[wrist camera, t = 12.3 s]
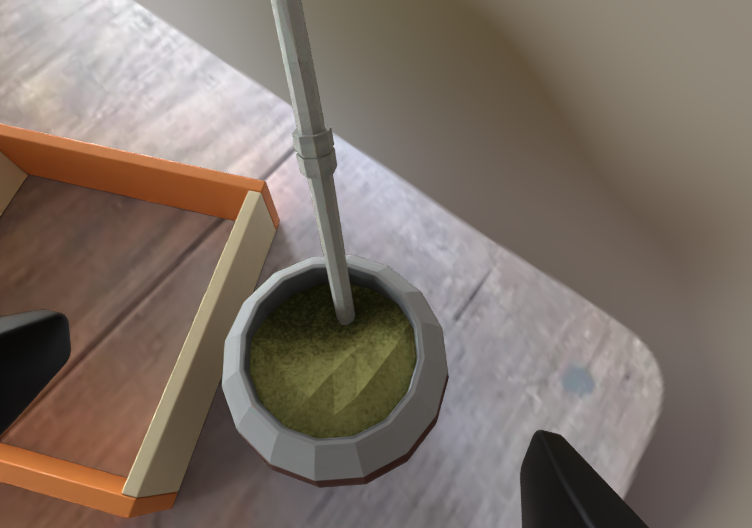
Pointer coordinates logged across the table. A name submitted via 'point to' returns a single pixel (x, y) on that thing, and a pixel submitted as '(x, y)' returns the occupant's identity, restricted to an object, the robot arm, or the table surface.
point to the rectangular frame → (207, 334)
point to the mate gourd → (331, 332)
